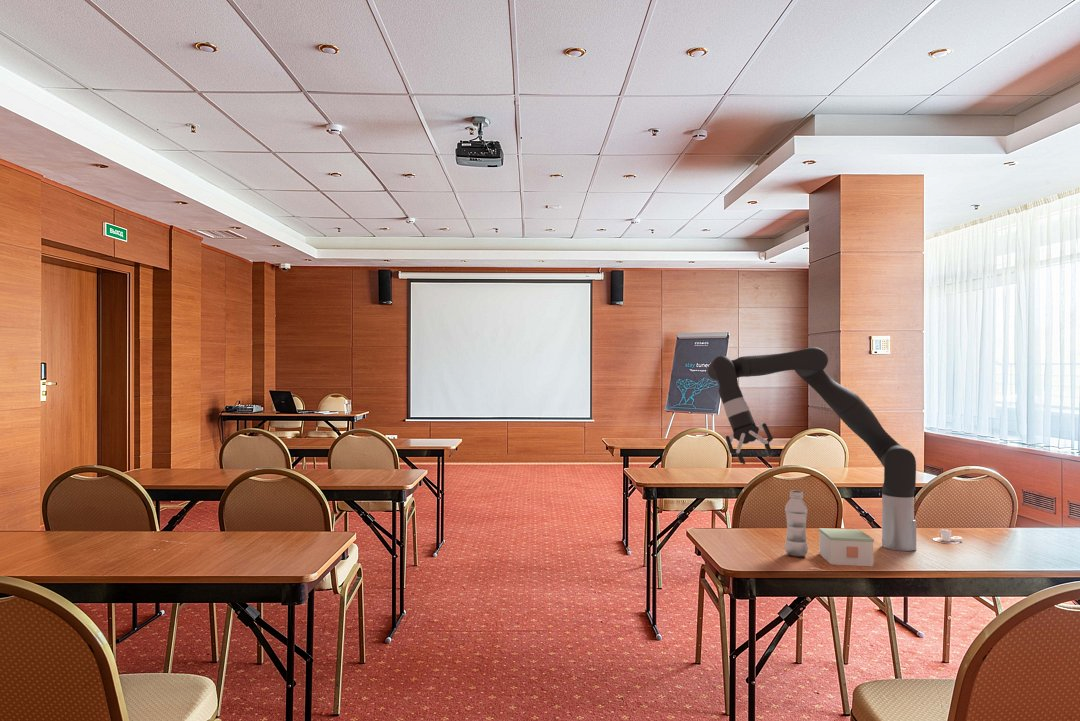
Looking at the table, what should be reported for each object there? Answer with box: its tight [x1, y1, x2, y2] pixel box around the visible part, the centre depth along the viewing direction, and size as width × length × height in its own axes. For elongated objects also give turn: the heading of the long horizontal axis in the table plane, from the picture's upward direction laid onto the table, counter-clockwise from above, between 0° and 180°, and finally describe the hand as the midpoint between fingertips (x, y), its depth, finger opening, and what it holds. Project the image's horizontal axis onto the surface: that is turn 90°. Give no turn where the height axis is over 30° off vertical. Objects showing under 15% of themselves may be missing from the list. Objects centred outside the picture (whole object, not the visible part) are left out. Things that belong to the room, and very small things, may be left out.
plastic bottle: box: [784, 490, 809, 558], centre depth 209 cm, size 6×7×20 cm
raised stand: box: [818, 527, 875, 567], centre depth 205 cm, size 12×13×8 cm
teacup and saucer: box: [932, 528, 964, 545], centre depth 230 cm, size 9×8×4 cm
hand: (757, 460), depth 218 cm, fingers open, 8 cm apart
